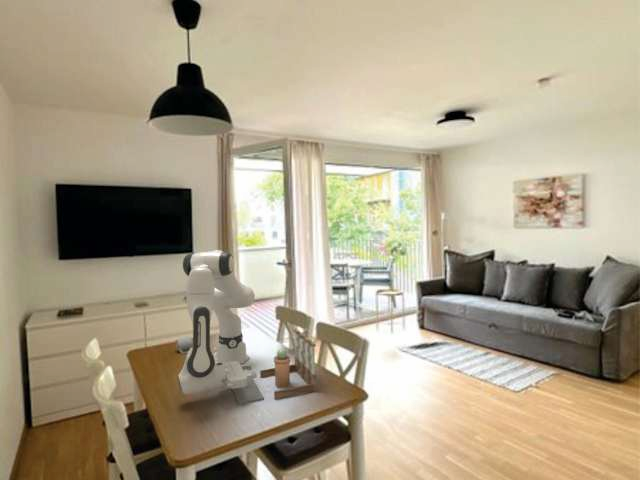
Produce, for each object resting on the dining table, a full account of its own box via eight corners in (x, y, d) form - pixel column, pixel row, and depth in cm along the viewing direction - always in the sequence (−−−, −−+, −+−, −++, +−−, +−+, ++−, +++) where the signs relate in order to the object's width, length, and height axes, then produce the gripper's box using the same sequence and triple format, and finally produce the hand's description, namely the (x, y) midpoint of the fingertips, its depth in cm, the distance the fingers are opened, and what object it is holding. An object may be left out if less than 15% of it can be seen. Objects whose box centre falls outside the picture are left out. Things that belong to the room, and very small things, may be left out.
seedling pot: (272, 382, 165) (271, 347, 164) (287, 379, 167) (287, 345, 166) (277, 389, 158) (276, 353, 157) (293, 386, 161) (292, 350, 160)
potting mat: (230, 384, 164) (230, 382, 164) (252, 380, 168) (252, 378, 167) (239, 404, 145) (239, 402, 145) (264, 399, 149) (263, 397, 149)
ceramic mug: (175, 349, 209) (175, 336, 209) (190, 346, 213) (190, 333, 213) (178, 355, 200) (178, 342, 200) (194, 352, 204) (193, 339, 204)
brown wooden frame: (260, 376, 171) (259, 333, 170) (297, 369, 178) (296, 328, 177) (274, 399, 149) (273, 350, 148) (316, 390, 156) (315, 343, 155)
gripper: (224, 379, 142) (259, 372, 147) (216, 361, 161) (248, 355, 166) (224, 395, 142) (259, 388, 148) (217, 375, 161) (248, 369, 167)
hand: (253, 371), depth 157 cm, fingers open, 8 cm apart
